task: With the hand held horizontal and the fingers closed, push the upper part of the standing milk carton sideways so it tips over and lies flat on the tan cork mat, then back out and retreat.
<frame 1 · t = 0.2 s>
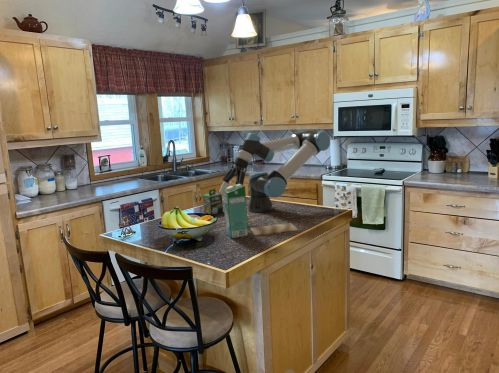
hand: (226, 194, 213), 16 cm above the table, tool tilted 35°, fingers open, 13 cm apart
chalk box: (213, 212, 242), on the table
milk carton: (237, 234, 195), on the table
cork mat: (273, 229, 199), on the table
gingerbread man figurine: (127, 235, 208), on the table
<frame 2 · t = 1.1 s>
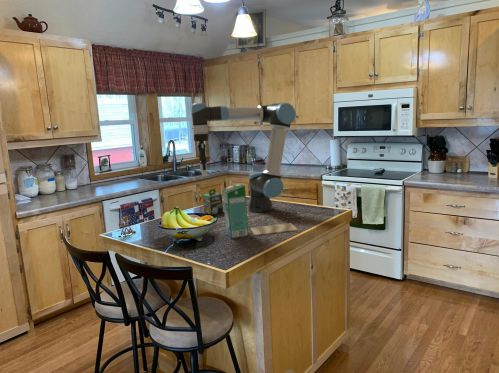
hand: (203, 174, 208), 29 cm above the table, tool pointing down, fingers open, 12 cm apart
nothing on the table moved.
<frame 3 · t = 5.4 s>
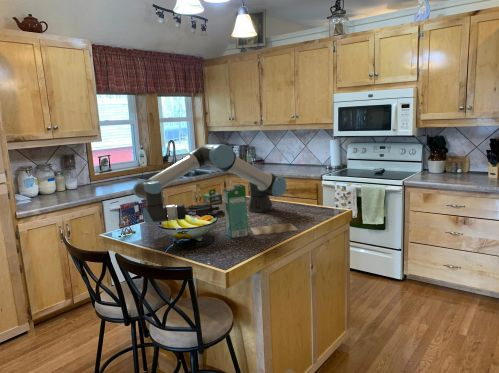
hand: (225, 207, 191), 15 cm above the table, tool horizontal, fingers closed
milk carton: (237, 234, 195), on the table, touching gripper
everything else where it was.
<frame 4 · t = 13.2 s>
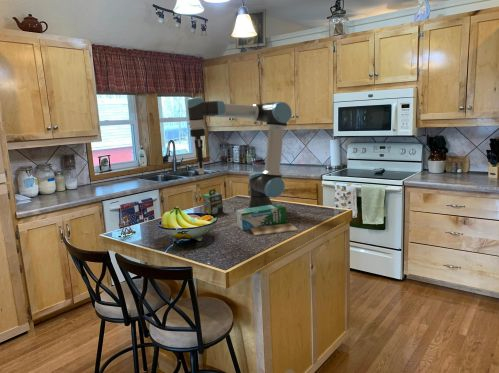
hand: (201, 173, 205), 29 cm above the table, tool pointing down, fingers closed
milk carton: (239, 220, 204), point 5 cm above the table
everything else where it was.
at the end: milk carton tilted 90°; milk carton inside the target area (12.3 cm from its centre), point 4.5 cm above the table; the gripper is holding nothing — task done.
